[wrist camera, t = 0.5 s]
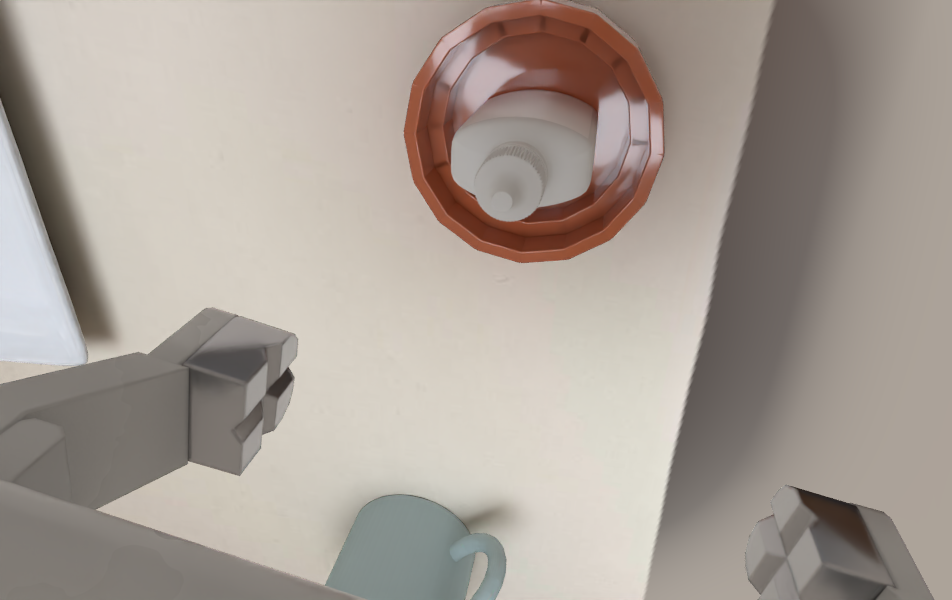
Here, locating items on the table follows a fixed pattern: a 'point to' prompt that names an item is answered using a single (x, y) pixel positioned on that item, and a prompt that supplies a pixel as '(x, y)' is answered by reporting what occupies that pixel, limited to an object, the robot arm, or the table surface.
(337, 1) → the table surface
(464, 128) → the eye dropper bottle
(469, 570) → the mug
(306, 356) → the table surface
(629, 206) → the bowl
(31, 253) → the tray
